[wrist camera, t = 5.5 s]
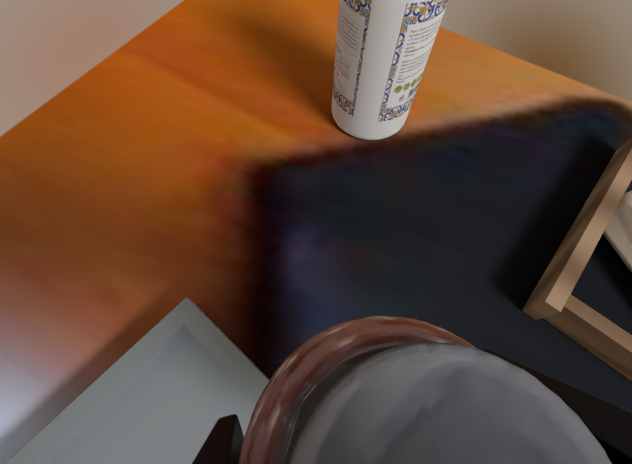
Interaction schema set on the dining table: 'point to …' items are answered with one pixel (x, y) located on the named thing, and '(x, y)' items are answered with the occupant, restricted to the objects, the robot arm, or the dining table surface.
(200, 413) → the tray
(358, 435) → the supplement bottle
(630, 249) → the salt and pepper shakers
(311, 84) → the dining table surface
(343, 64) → the bath foam
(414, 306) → the dining table surface
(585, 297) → the dining table surface
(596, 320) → the frame
